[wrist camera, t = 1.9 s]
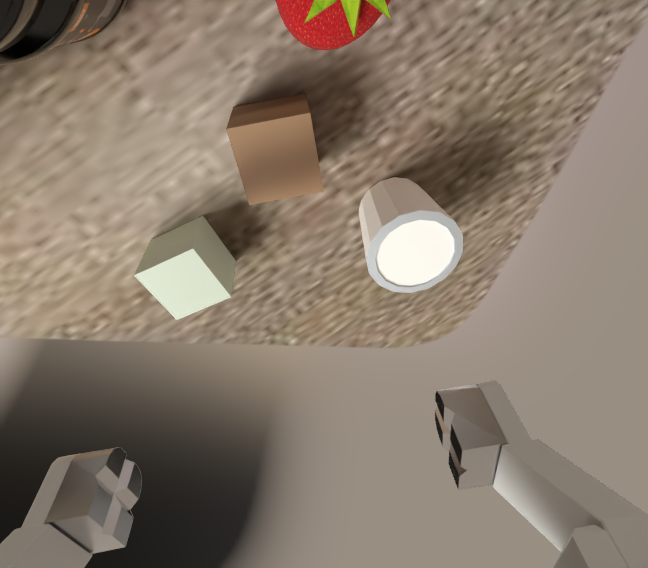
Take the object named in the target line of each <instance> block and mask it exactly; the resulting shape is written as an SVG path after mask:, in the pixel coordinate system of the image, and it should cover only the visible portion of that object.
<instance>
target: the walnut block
mask: <svg viewBox="0 0 648 568" xmlns="http://www.w3.org/2000/svg"><path fill="white" fill-rule="evenodd" d="M227 132H228V136H229V139H230V142H231V146H232V149H233V152H234V156H235V159H236V162H237V166H238V169H239V172H240V175H241V179H242V182H243V185H244V189H245V192H246V195H247V199H248V202H249V205H253V204H258V203H264V202H269V201H274V200H280V199H285V198H290V197H296V196H301V195H306V194H311V193H317V192H322V191H323V185H322V179H321V173H320V167H319V161H318V155H317V149H316V143H315V138H314V132H313V126H312V120H311V114H310V110H309V106H308V102H307V98H306V94H305V93H304V94H298V95H293V96H288V97H283V98H278V99H273V100H267V101H262V102H257V103H252V104H247V105H242V106H236V107H233V110H232V113H231V116H230V119H229V122H228V126H227Z"/></svg>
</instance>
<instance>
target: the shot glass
mask: <svg viewBox="0 0 648 568" xmlns="http://www.w3.org/2000/svg"><path fill="white" fill-rule="evenodd" d="M359 217H360V224H361V230H362V236H363V242H364V249H365V255H366V261H367V265H368V270H369V274H370V275H371V276H372V278H373V279H374V280H375V281H376V282H377V284H378V285H379V286H382V287H384V288H386V289H388V290H391V291H393V292H405V293H412V292H416V291H420V290H424V289H428V288H430V287H431V286H433V285H435V284H437V283H438V282H440V281H442V280H444V279H445V278H446V277H447V275H448V274H449V273H450V272H451V271H452V270H453V269H454V268H455V267H456V266H457V263H458V261H459V259H460V256H461V254H462V252H463V234H462V233H461V231H460V229H459V228H458V226H457V224H456V223H455V221H454V220H453V219H452V218H451V217H450V216H449V215H448V214H447V213H446V212H445V211H444V210H443V209H442V208H441V207H440V206H439V205H438V204H437V203H436V202H435V201H434V200H433V199H432V198H431V197H430V196H429V195H428V194H427V193H426V192H425V191H424V190H423V189H422V188H421V187H420V186H419V185H417V184H416V183H414V182H412V181H411V180H409V179H407V178H398V177H393V178H389V179H385V180H382V181H380V182H378V183H377V184H375V185H374V186H373V187H371V188H370V189H369V190H368V191H367V193H366V194H365V196H364V197H363V198H362V200H361V204H360V208H359Z"/></svg>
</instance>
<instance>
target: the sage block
mask: <svg viewBox="0 0 648 568" xmlns="http://www.w3.org/2000/svg"><path fill="white" fill-rule="evenodd" d="M235 266H236V260H235V259H234V258H233V256H232V255H231V254H230V252H229V251H228V249H227V248H226V247H225V245H224V244H223V243H222V241H221V240H220V238H219V237H218V236H217V234H216V233H215V231H214V230H213V229H212V227H211V226H210V225H209V223H208V222H207V220H206V219H205V218H204V216H201V217H198V218H196V219H194V220H192V221H190V222H188V223H186V224H184V225H181V226H179V227H177V228H175V229H173V230H171V231H169V232H167V233H164V234H162V235H160V236H158V237H156V238H154V239H152V240H151V241H150V243H149V245H148V247H147V249H146V251H145V253H144V256H143V258H142V260H141V262H140V264H139V266H138V268H137V270H136V273H135V275H134V276H135V277H136V278H137V279H138V280H139V281H140V282H141V283H142V284H143V285H144V286H145V287H146V288H147V289H148V290H149V291H150V292H151V293H152V294H153V296H154V297H155V298H156V299H157V300H158V301H159V302H160V303H161V304H162V305H163V306H164V307H165V308H166V309H167V310H168V311H169V312H170V313H171V314H172V315H173V316H174V317H175V318H176V320H178V319H180V318H183V317H185V316H187V315H190V314H192V313H194V312H197V311H199V310H202V309H204V308H206V307H209V306H211V305H213V304H216V303H218V302H220V301H223V300H225V299H228V298H230V297H231V295H232V288H233V280H234V273H235Z"/></svg>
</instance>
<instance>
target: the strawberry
mask: <svg viewBox="0 0 648 568" xmlns="http://www.w3.org/2000/svg"><path fill="white" fill-rule="evenodd" d="M389 2H390V0H276V3H277V6H278V10H279V13H280V15H281V17H282V19H283V21H284V24H285V26H286V27H287V29H288V30H289V31H290V32H291V34H292V35H293V36H294V37H295V38H296V39H297V40H299V41H300V42H301V43H302V44H304V45H306V46H308V47H311V48H313V49H319V50H331V49H337V48H340V47H342V46H345V45H347V44H349V43H351V42H352V41H354V40H356V39H357V38H359V37H360V36H362V35H363V34H364V33H365V32H366V31H367V30H368V29H369V28H371V27H372V26H373V25H374V23H375V22H376V21H377V20H378V18H379V17H380V16H381V15H382V13H383V14H385V15H386V16H387V17H389V18H390V19H391V16H390V13H389V10H388V7H387V5H388V3H389Z"/></svg>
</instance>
